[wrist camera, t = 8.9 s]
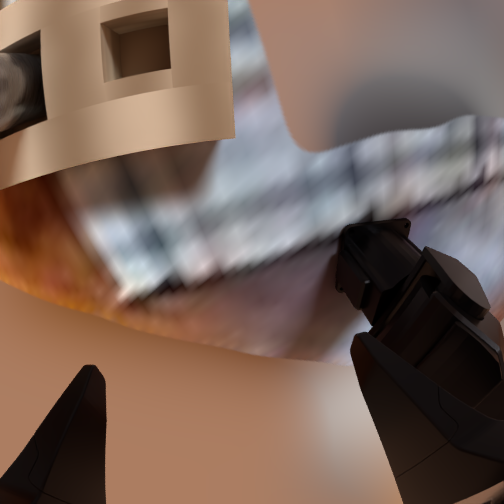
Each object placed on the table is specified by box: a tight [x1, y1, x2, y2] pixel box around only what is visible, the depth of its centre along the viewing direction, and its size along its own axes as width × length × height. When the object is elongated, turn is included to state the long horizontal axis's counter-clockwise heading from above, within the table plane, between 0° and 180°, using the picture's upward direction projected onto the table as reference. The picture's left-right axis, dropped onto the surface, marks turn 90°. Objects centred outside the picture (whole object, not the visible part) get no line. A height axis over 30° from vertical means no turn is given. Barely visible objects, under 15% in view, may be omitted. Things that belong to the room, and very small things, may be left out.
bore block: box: [0, 0, 235, 190], centre depth 10 cm, size 15×10×4 cm, turn 93°
